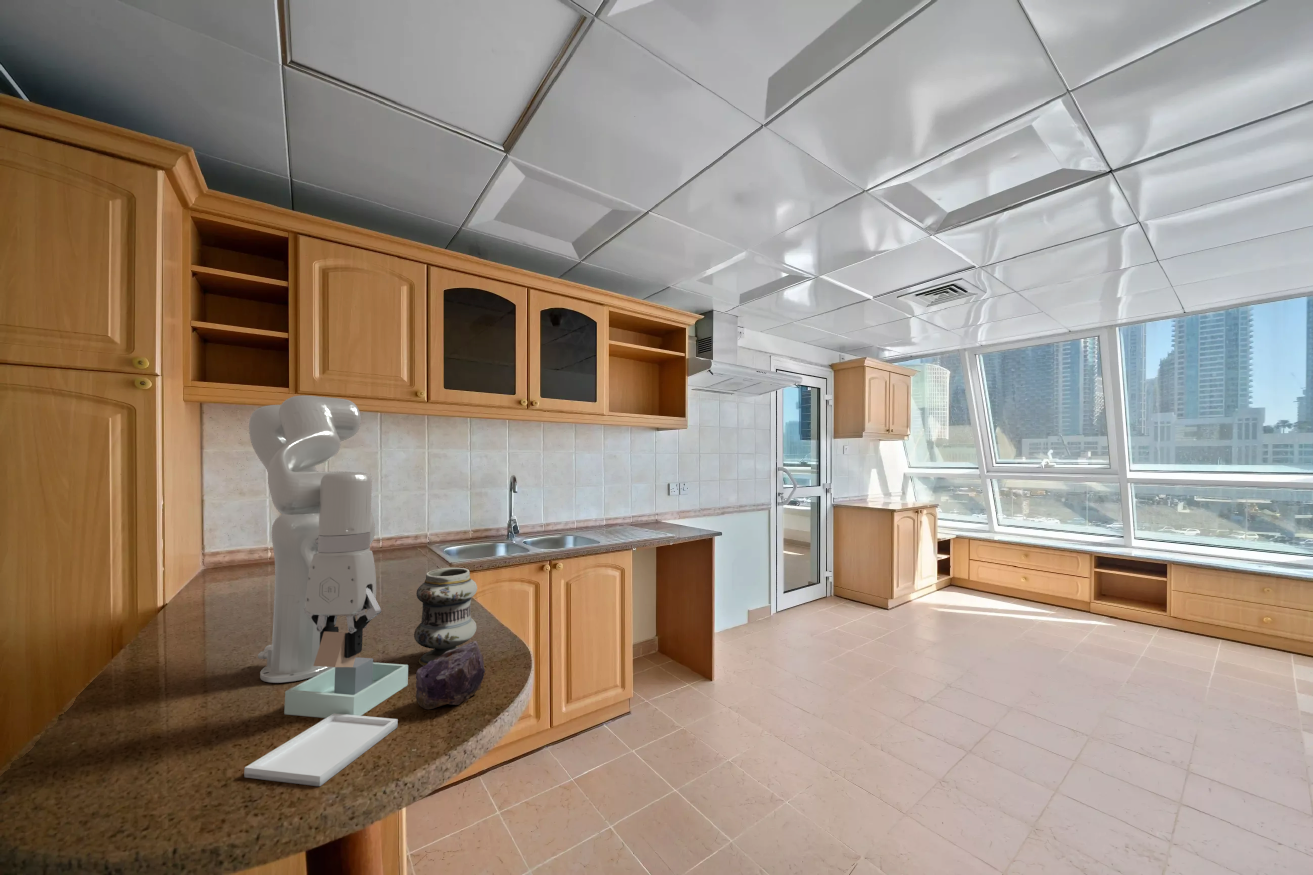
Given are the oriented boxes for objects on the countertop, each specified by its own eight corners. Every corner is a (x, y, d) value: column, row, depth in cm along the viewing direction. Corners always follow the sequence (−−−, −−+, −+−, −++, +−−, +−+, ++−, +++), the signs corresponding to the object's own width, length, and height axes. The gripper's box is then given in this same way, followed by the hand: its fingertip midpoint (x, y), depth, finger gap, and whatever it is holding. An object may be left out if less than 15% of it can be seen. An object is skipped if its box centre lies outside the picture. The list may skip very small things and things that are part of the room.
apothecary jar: (447, 673, 93) (449, 579, 95) (399, 665, 97) (402, 575, 98) (487, 651, 105) (489, 567, 106) (443, 644, 109) (445, 564, 110)
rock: (411, 710, 82) (444, 727, 76) (404, 661, 81) (436, 675, 75) (473, 675, 91) (506, 688, 85) (467, 631, 91) (499, 641, 85)
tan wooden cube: (313, 665, 78) (324, 631, 80) (332, 665, 82) (341, 632, 84) (334, 667, 77) (345, 632, 80) (352, 667, 81) (362, 633, 83)
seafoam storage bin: (284, 713, 78) (285, 691, 78) (346, 680, 91) (347, 660, 91) (353, 720, 76) (354, 696, 76) (407, 684, 89) (408, 664, 89)
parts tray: (244, 777, 62) (244, 767, 62) (333, 721, 76) (333, 713, 76) (319, 786, 60) (320, 776, 60) (397, 727, 74) (397, 719, 74)
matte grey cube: (334, 697, 83) (335, 666, 83) (352, 686, 86) (353, 657, 87) (354, 698, 82) (355, 667, 82) (372, 688, 86) (373, 658, 86)
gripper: (282, 547, 80) (277, 660, 79) (371, 548, 77) (368, 665, 76) (320, 540, 88) (316, 644, 86) (403, 541, 85) (400, 648, 83)
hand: (340, 653), depth 81 cm, fingers closed on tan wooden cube, 4 cm apart
